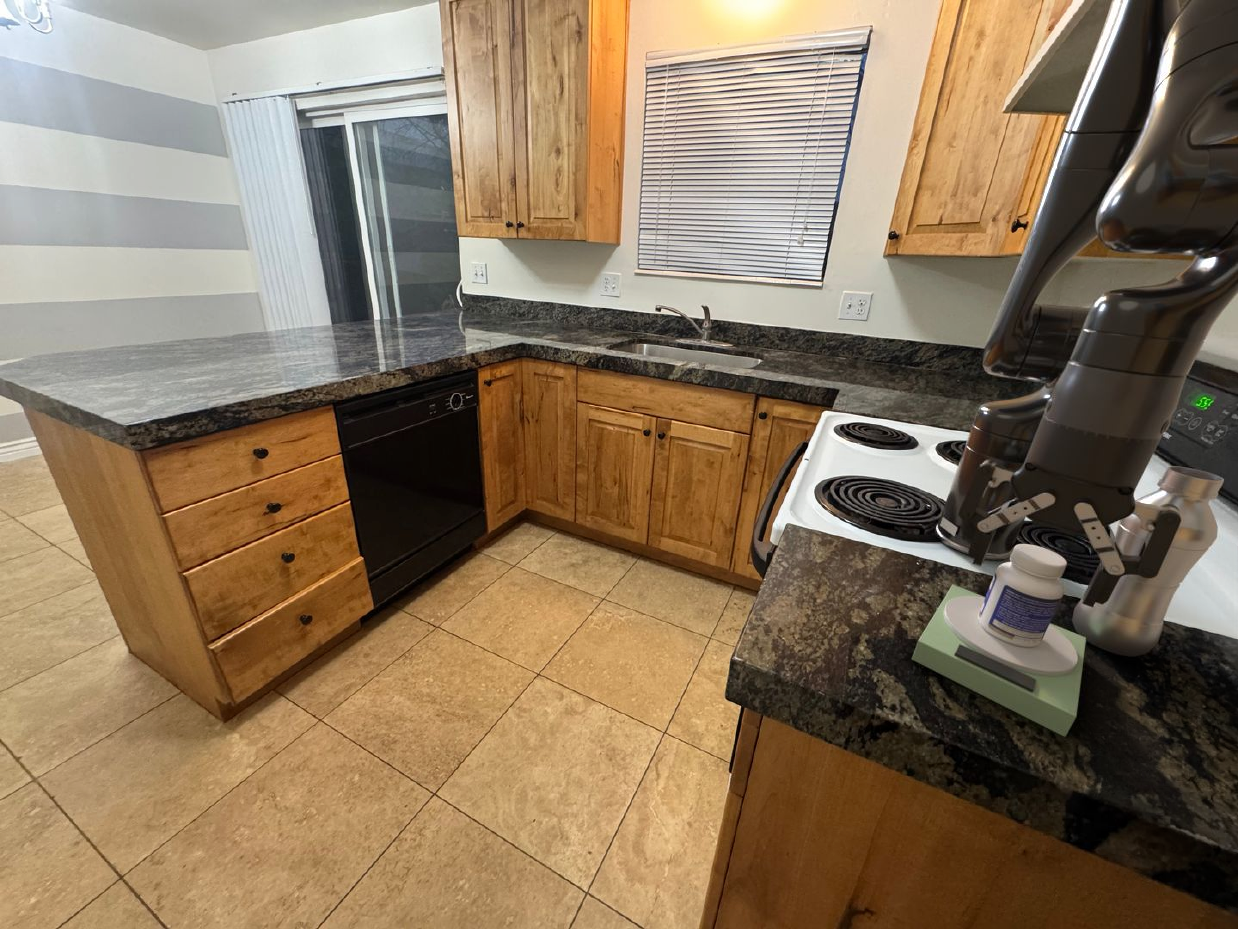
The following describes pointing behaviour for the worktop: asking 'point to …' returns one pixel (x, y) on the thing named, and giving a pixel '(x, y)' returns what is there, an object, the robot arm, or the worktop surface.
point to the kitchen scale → (1005, 662)
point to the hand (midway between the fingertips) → (1029, 581)
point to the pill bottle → (1024, 596)
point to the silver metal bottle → (1143, 602)
